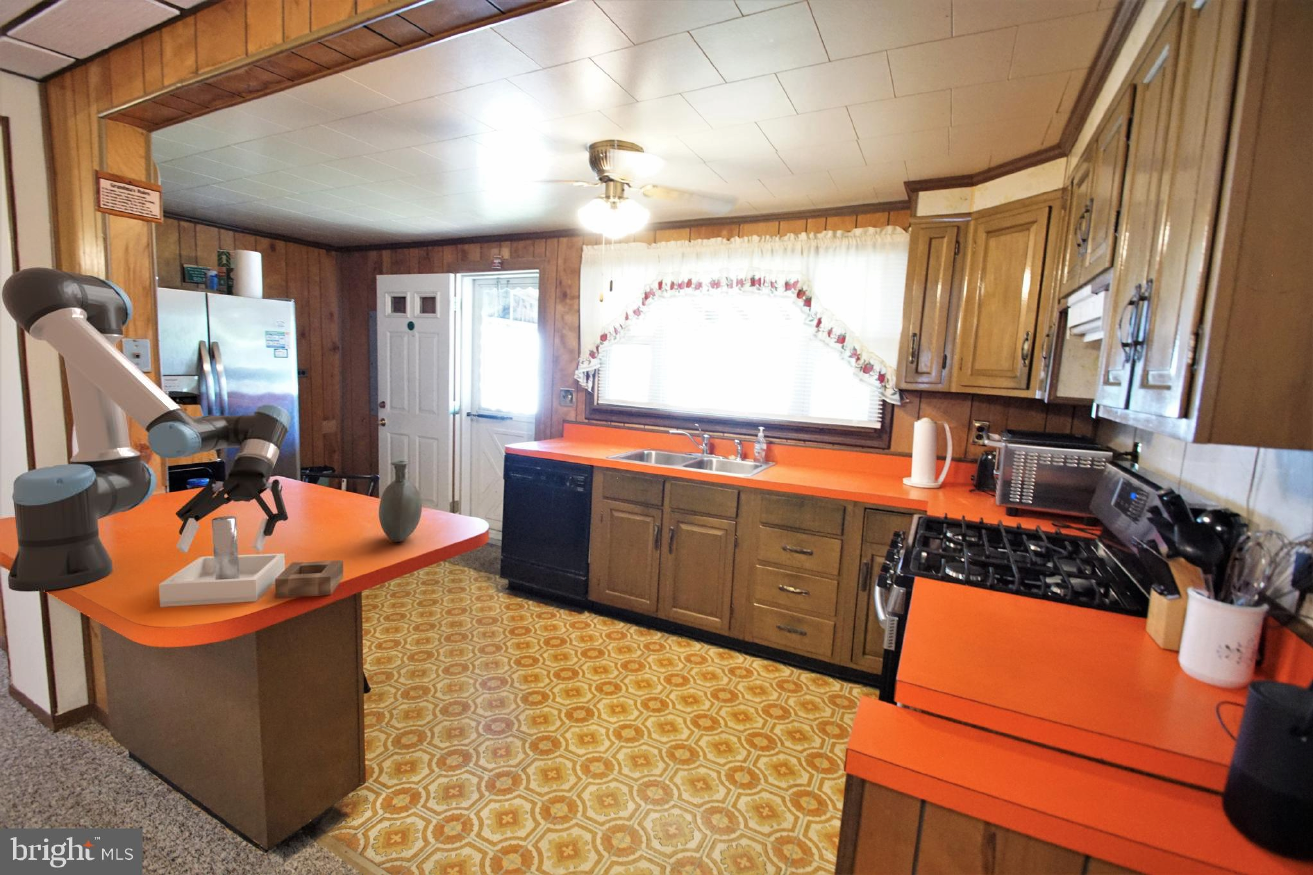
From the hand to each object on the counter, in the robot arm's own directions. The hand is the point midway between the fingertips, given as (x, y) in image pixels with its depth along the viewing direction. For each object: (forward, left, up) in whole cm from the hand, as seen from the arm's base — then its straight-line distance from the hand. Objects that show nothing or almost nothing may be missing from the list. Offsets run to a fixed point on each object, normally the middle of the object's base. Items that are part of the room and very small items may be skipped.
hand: (219, 549), depth 114 cm
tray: (0, +2, -9) cm, 9 cm away
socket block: (+16, 0, -9) cm, 19 cm away
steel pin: (0, +2, -8) cm, 8 cm away
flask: (+29, +32, -9) cm, 45 cm away
